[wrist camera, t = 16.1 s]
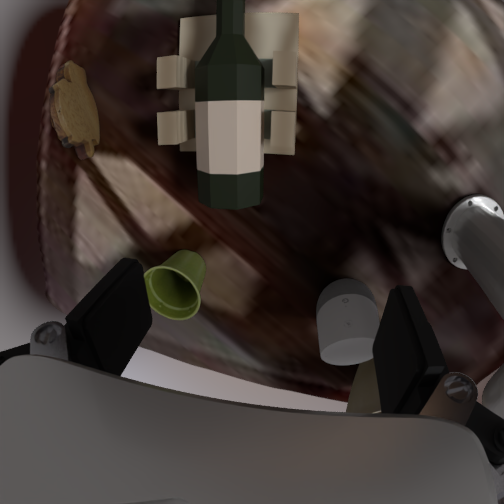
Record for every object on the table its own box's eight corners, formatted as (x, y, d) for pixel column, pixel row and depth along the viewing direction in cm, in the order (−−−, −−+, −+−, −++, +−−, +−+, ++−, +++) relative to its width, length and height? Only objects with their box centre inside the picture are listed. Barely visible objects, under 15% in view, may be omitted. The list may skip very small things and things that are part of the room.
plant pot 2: (324, 371, 58) (324, 438, 44) (377, 326, 51) (392, 397, 37) (374, 395, 60) (380, 456, 46) (425, 356, 53) (443, 420, 39)
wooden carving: (69, 73, 38) (27, 75, 30) (88, 59, 37) (46, 57, 28) (97, 157, 45) (58, 172, 36) (117, 146, 44) (78, 160, 35)
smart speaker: (320, 322, 52) (320, 384, 40) (311, 278, 49) (310, 338, 36) (374, 313, 50) (387, 374, 38) (370, 267, 46) (387, 326, 34)
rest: (298, 14, 31) (297, -4, 24) (294, 154, 40) (292, 164, 34) (182, 19, 33) (159, 6, 27) (181, 150, 42) (159, 160, 36)
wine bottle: (240, 214, 34) (241, -44, 21) (185, 202, 38) (182, -26, 24) (275, 196, 41) (278, -22, 27) (224, 187, 45) (224, -11, 31)
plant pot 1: (186, 296, 54) (168, 327, 47) (152, 255, 52) (129, 282, 44) (227, 275, 51) (213, 307, 43) (192, 229, 48) (171, 255, 41)
